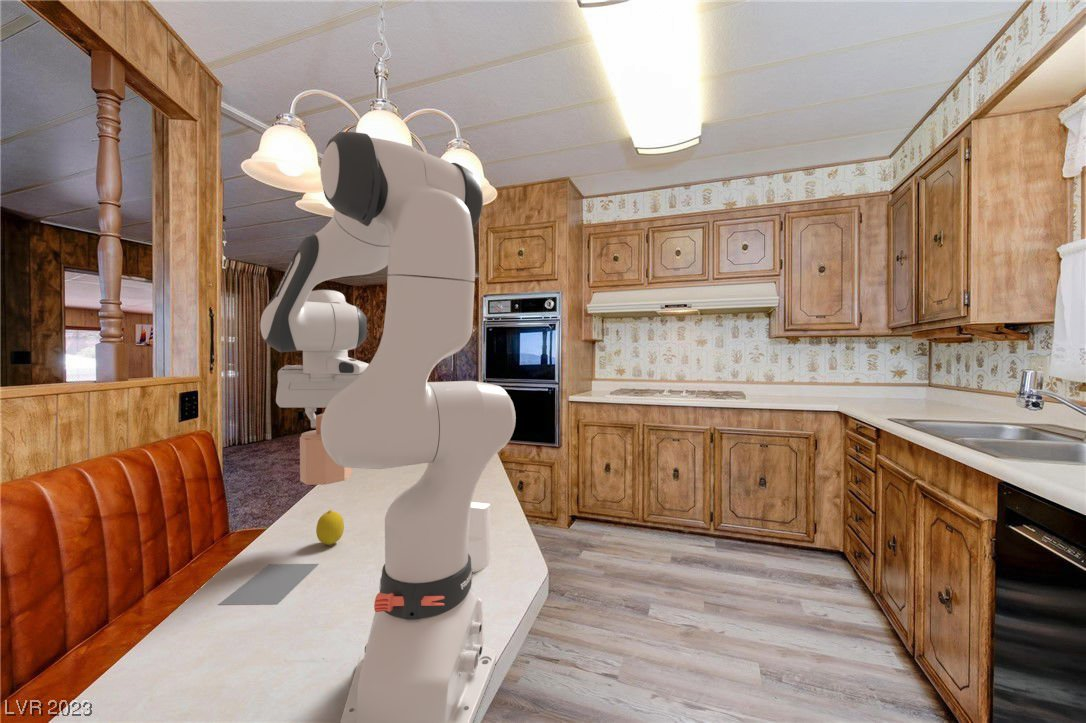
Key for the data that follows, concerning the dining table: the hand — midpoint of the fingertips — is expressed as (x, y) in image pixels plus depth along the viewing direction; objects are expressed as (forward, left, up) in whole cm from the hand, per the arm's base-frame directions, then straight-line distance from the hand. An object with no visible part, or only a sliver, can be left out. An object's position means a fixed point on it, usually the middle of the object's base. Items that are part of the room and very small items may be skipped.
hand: (326, 427), depth 94 cm
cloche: (0, 0, -11) cm, 11 cm away
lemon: (+1, 0, -27) cm, 27 cm away
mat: (-15, +3, -27) cm, 31 cm away
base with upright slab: (-7, -32, -27) cm, 43 cm away
